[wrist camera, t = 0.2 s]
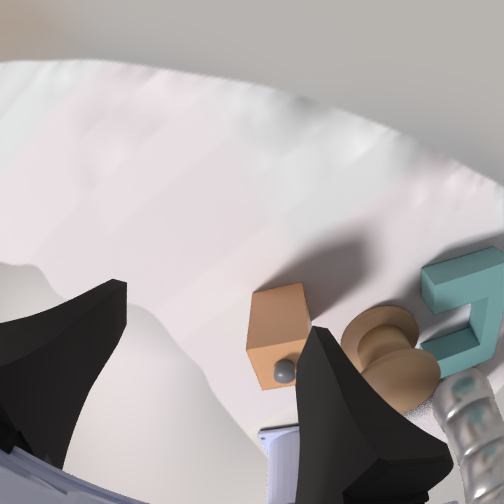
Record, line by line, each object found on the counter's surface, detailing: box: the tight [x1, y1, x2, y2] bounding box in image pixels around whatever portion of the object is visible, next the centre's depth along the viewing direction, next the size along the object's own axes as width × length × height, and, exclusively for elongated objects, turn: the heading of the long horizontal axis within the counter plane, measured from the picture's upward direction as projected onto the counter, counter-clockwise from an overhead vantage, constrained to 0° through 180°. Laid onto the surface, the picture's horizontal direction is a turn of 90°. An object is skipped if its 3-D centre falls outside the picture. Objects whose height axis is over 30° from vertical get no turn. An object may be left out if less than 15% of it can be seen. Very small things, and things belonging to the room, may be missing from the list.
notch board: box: [420, 247, 504, 379], centre depth 21 cm, size 10×7×2 cm
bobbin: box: [341, 305, 441, 414], centre depth 21 cm, size 6×6×6 cm
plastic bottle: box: [432, 367, 504, 504], centre depth 17 cm, size 6×7×20 cm
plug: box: [246, 282, 312, 390], centre depth 20 cm, size 4×4×7 cm
